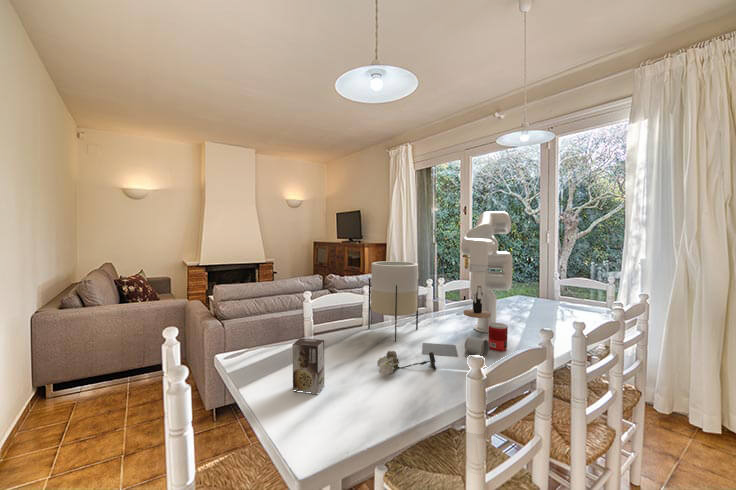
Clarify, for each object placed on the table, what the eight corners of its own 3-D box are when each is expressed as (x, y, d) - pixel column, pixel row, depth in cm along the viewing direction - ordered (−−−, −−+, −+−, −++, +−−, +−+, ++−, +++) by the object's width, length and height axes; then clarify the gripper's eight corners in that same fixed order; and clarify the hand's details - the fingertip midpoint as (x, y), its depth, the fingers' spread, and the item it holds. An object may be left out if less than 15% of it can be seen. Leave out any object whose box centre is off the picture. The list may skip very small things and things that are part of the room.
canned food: (508, 352, 151) (509, 327, 150) (489, 351, 152) (490, 326, 152) (505, 346, 158) (505, 323, 158) (487, 345, 160) (487, 322, 159)
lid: (462, 310, 153) (462, 296, 153) (488, 312, 151) (488, 297, 151) (465, 317, 142) (465, 301, 142) (492, 318, 140) (493, 302, 140)
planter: (410, 345, 159) (412, 267, 157) (356, 338, 168) (357, 264, 166) (420, 329, 184) (422, 262, 182) (373, 324, 193) (374, 260, 191)
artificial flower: (439, 377, 128) (438, 354, 125) (379, 384, 128) (377, 361, 125) (433, 361, 137) (432, 340, 134) (377, 368, 136) (375, 347, 133)
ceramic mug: (471, 350, 153) (472, 333, 152) (489, 355, 147) (489, 337, 147) (459, 357, 145) (460, 339, 145) (478, 362, 140) (478, 344, 139)
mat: (422, 344, 161) (422, 342, 161) (455, 346, 158) (455, 345, 158) (421, 355, 146) (421, 354, 146) (458, 358, 143) (458, 356, 143)
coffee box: (325, 386, 116) (325, 339, 116) (318, 395, 110) (318, 345, 109) (300, 383, 119) (300, 337, 118) (291, 392, 112) (291, 343, 112)
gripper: (467, 266, 154) (466, 306, 155) (471, 270, 138) (470, 315, 139) (484, 266, 153) (483, 307, 154) (490, 271, 137) (489, 316, 138)
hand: (477, 311), depth 147 cm, fingers closed on lid, 2 cm apart
